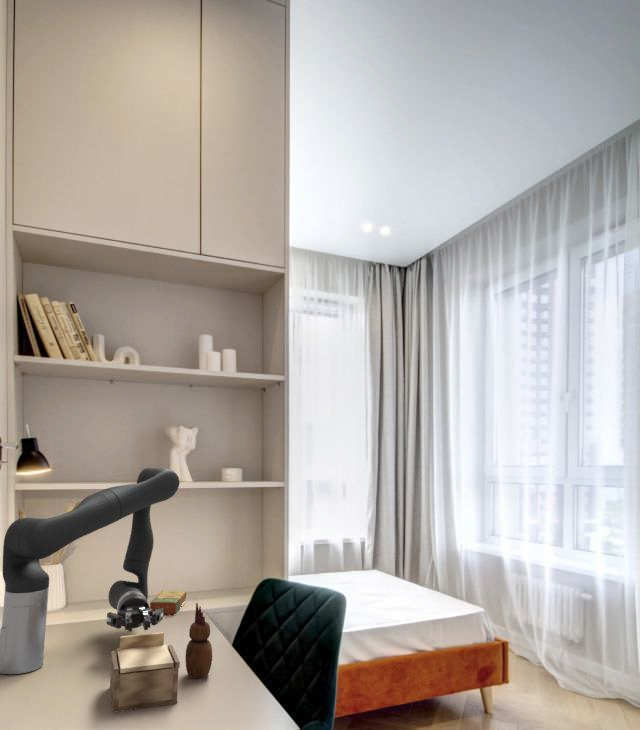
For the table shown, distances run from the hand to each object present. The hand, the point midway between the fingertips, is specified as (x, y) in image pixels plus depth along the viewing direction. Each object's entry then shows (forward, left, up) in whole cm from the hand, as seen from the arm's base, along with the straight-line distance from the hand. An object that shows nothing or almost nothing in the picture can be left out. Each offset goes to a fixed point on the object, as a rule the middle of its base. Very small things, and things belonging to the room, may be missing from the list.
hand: (138, 626), depth 136 cm
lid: (0, -15, -3) cm, 15 cm away
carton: (+14, +55, -10) cm, 58 cm away
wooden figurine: (+13, -8, -10) cm, 18 cm away
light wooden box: (0, -15, -10) cm, 18 cm away
